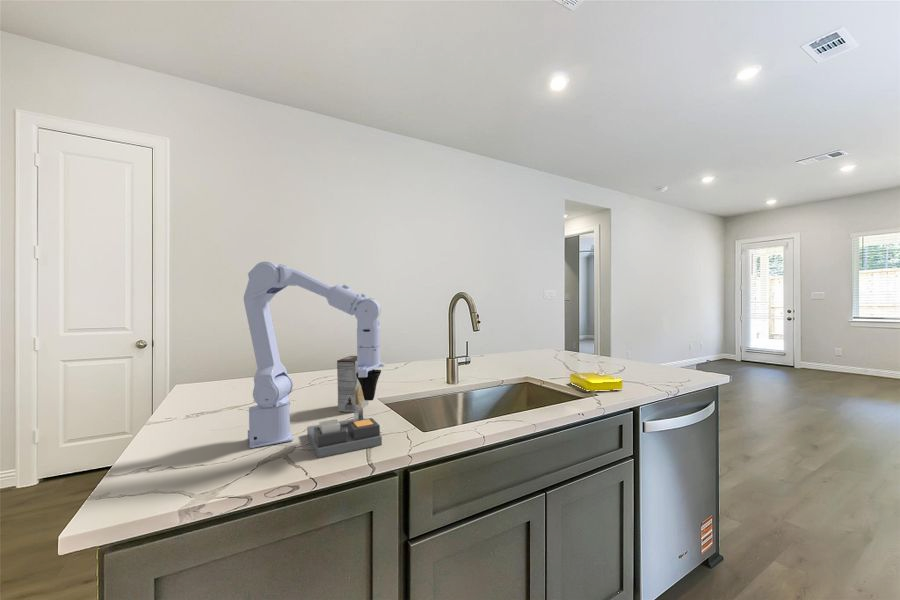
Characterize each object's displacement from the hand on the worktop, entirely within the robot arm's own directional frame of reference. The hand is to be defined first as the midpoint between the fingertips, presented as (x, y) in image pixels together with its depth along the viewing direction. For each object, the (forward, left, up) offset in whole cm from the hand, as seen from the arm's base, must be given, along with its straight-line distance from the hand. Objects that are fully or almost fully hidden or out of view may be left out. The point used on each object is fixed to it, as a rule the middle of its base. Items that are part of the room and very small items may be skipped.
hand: (369, 399), depth 94 cm
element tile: (+92, +7, -10) cm, 93 cm away
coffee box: (+3, +27, -10) cm, 28 cm away
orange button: (-2, -2, -7) cm, 8 cm away
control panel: (-6, +2, -9) cm, 11 cm away
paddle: (-1, +5, -7) cm, 9 cm away
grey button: (-10, -3, -5) cm, 12 cm away
